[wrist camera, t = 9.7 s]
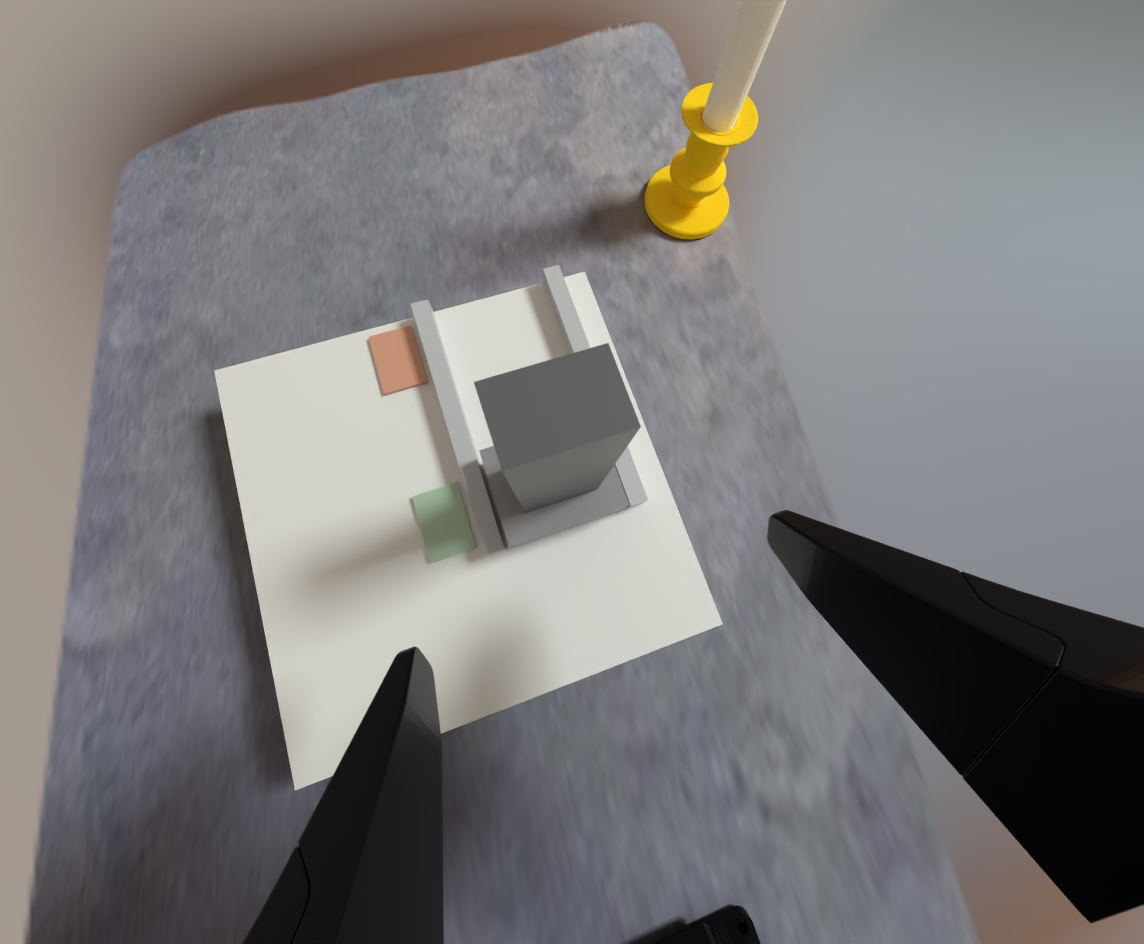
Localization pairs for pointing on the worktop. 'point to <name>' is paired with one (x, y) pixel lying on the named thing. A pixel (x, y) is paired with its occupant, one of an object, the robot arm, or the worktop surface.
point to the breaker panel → (437, 524)
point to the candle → (713, 131)
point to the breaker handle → (556, 442)
